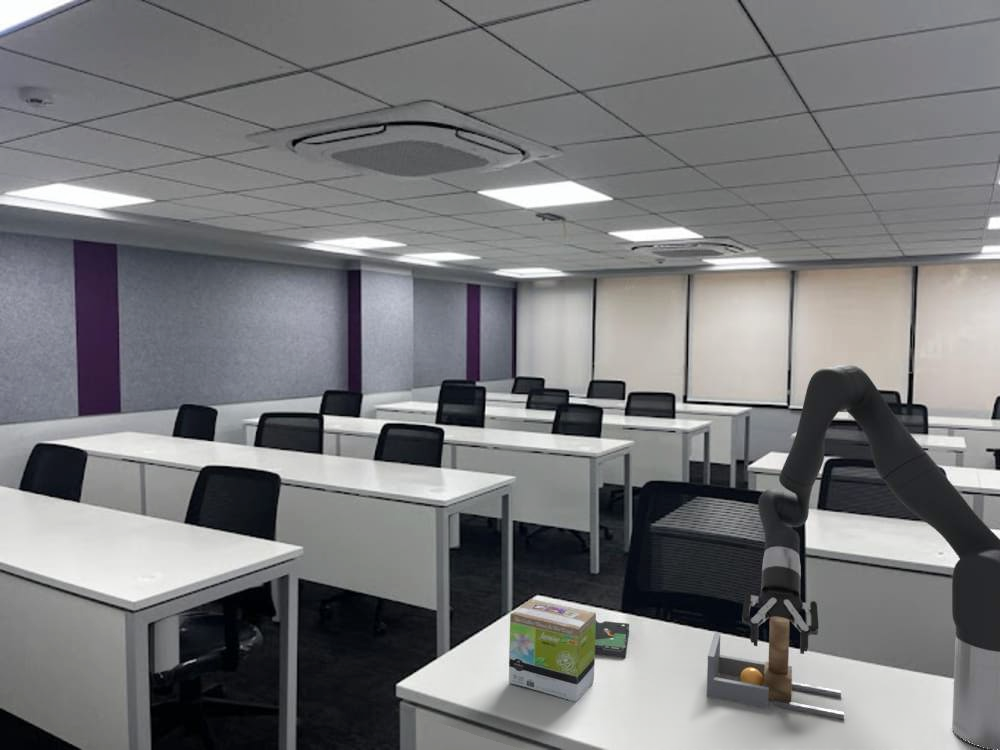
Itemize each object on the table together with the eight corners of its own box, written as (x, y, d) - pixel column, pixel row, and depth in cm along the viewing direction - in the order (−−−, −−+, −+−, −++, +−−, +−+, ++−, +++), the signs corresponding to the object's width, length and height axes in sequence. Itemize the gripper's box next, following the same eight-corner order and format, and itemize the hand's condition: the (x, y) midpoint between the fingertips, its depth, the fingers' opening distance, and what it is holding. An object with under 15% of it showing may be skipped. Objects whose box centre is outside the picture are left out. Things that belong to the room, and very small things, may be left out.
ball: (752, 661, 143) (745, 680, 143) (739, 664, 140) (732, 683, 141) (770, 674, 139) (763, 694, 140) (758, 677, 136) (751, 697, 137)
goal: (770, 680, 144) (771, 641, 144) (767, 708, 133) (769, 666, 133) (713, 669, 149) (714, 632, 148) (706, 696, 137) (707, 655, 137)
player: (791, 689, 140) (793, 616, 139) (791, 703, 134) (793, 627, 134) (764, 684, 142) (766, 612, 141) (763, 697, 136) (765, 623, 136)
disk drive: (585, 630, 170) (579, 655, 156) (586, 618, 170) (579, 642, 156) (629, 634, 168) (626, 660, 154) (629, 623, 168) (626, 647, 154)
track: (840, 695, 138) (840, 690, 138) (843, 720, 129) (844, 714, 129) (775, 683, 143) (775, 678, 143) (773, 706, 134) (773, 701, 134)
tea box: (507, 685, 141) (508, 612, 140) (528, 665, 149) (529, 597, 149) (577, 704, 134) (578, 627, 133) (595, 682, 142) (597, 610, 142)
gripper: (745, 560, 148) (739, 634, 138) (819, 569, 143) (819, 646, 133) (745, 578, 153) (741, 650, 143) (817, 587, 148) (817, 662, 138)
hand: (778, 648), depth 138 cm, fingers open, 8 cm apart
